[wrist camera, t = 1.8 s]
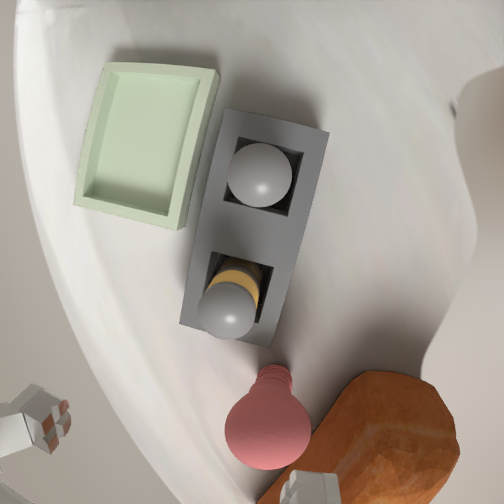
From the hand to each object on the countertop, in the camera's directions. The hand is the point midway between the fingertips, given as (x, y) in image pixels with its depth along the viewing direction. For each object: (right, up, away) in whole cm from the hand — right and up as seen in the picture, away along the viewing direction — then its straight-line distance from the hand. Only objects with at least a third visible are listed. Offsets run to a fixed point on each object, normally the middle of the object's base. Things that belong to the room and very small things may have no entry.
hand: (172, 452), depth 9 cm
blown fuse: (+2, +5, +20) cm, 21 cm away
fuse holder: (+3, +9, +19) cm, 21 cm away
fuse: (+4, +13, +18) cm, 23 cm away
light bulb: (+5, -6, +23) cm, 24 cm away
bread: (+14, -22, +26) cm, 37 cm away
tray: (-7, +17, +18) cm, 26 cm away
